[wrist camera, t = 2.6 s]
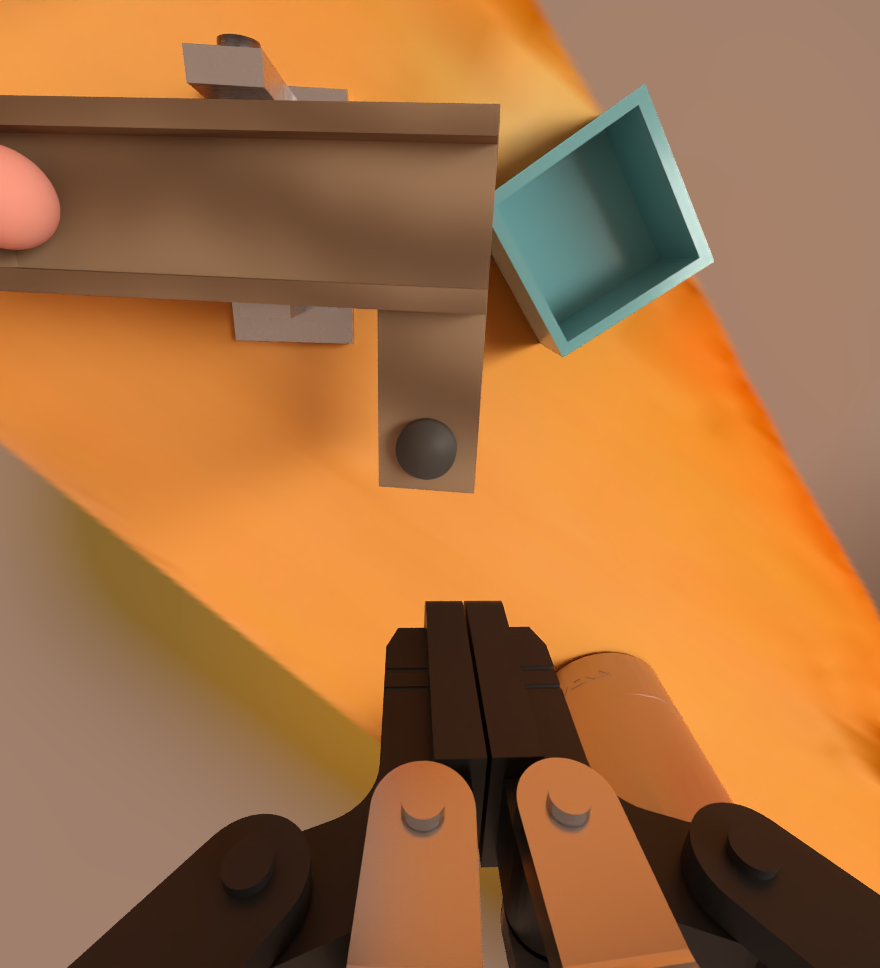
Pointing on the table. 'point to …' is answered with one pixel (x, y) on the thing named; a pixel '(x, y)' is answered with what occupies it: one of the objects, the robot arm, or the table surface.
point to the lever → (288, 232)
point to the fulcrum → (252, 76)
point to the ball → (25, 203)
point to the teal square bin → (597, 227)
